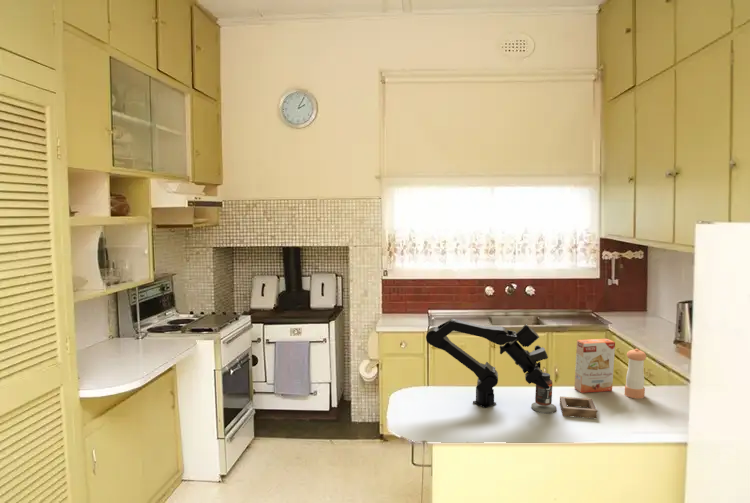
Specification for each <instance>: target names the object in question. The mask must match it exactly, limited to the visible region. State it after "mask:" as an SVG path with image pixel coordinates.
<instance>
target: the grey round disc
mask: <svg viewBox="0 0 750 503" xmlns="http://www.w3.org/2000/svg"><path fill="white" fill-rule="evenodd" d="M530 408H531V409H532V410H533V411H534V412H537V413H541V414H553V413H555V412H557V406H556V405H555V404H553V403H551V404H550V405H548V406H544V405H539V404H537V403H536V402H532V403H531V406H530ZM552 412H553V413H552Z"/></svg>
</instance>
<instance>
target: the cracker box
mask: <svg viewBox="0 0 750 503" xmlns="http://www.w3.org/2000/svg"><path fill="white" fill-rule="evenodd" d="M615 349H616V342H615V341H614V340H611V339H608V338H592V339H591V338H590V339H577V340H576V350H575V351H576V352H575V353H576V354H575V369H574V373H575V374H574V389H575V390H577V391H578V392H580V393H582V394H583V393H584V394H586V393H587V394H588V393H599V392H600V393H601V392H602V393H603V392H612V391H613V381H614V380H613V379H614V366H615V365H614V364H615V354H616V353H615V351H616V350H615Z"/></svg>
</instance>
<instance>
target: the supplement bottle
mask: <svg viewBox="0 0 750 503" xmlns="http://www.w3.org/2000/svg"><path fill="white" fill-rule="evenodd" d="M542 377H543V378H544V379H545V381H546V382H547V384H548V385H549V387H550V388H549V389H546V388H543V387H541V386H539V385H536V384H535V396H534V399H535V400H534V401H535V402H536V403H537V404H539V405H544V406H548V405H550V404H552V402H553V399H552V398H553V381H552V380H551V374H550V373H548V372H543V373H542ZM535 402H534V403H535Z"/></svg>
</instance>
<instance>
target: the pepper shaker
mask: <svg viewBox="0 0 750 503" xmlns="http://www.w3.org/2000/svg"><path fill="white" fill-rule="evenodd" d="M626 357H627V358H628V366H627V367H628V368H627V372H626V375H625V385H624V395H625V396H626V397H628V398H631V399H636V400H637V399H644V398H645V392H646V391H645V390H646V388H645V375H644V374H645V373H644V365H645V364H644V363H645V362H644V361H645V360H646V359H647V354H646V353H645V351H642V350H640V349H639V348H634V349H631V350H630V349H629V350H628V351H627V353H626Z"/></svg>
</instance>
